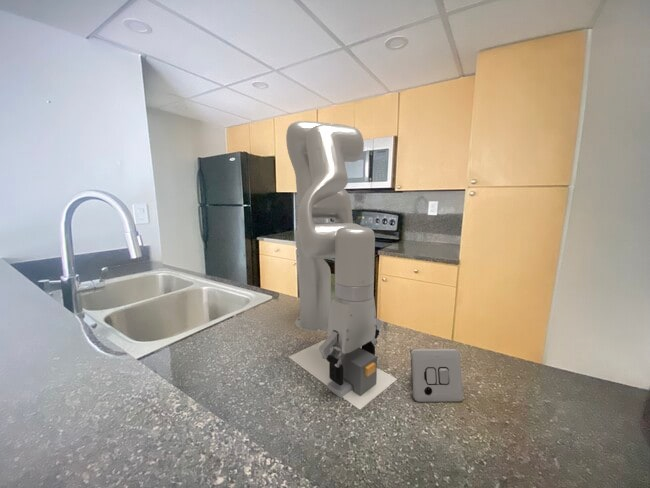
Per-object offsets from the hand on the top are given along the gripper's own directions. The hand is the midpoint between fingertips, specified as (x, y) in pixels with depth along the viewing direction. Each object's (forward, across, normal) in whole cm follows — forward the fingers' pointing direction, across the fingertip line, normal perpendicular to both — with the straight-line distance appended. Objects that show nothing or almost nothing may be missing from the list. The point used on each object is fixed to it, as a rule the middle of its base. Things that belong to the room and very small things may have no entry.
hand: (353, 370), depth 53 cm
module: (+2, 0, 0) cm, 2 cm away
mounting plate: (+3, -1, -5) cm, 6 cm away
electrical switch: (+4, -10, +12) cm, 16 cm away
